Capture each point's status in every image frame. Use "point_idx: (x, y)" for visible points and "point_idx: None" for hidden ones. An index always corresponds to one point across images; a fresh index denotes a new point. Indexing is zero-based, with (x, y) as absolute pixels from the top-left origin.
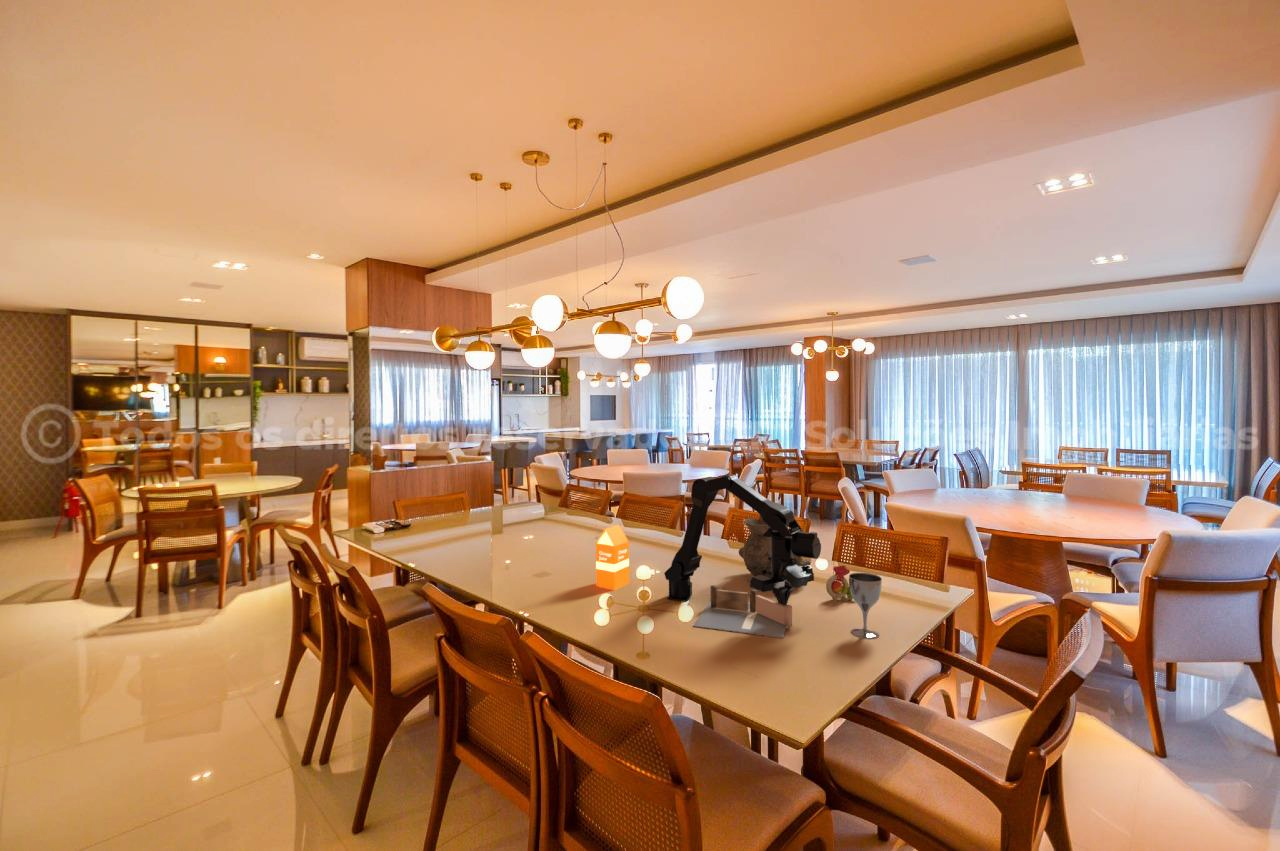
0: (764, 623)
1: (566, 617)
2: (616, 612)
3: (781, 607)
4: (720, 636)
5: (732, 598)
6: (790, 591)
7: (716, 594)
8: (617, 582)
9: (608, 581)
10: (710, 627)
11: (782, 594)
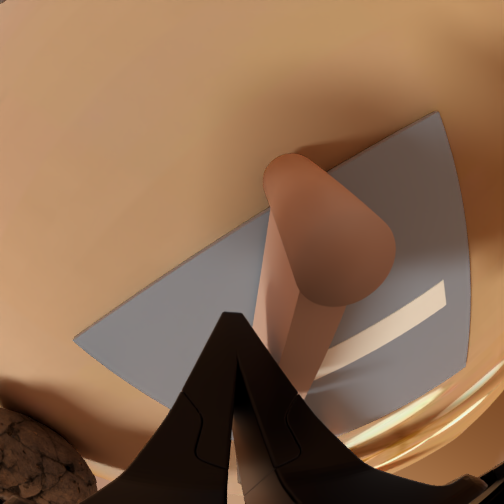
0: None
1: (470, 418)
2: (437, 428)
3: (337, 313)
4: (500, 291)
5: None
6: (157, 471)
7: None
8: None
9: None
10: (466, 345)
11: (328, 452)
